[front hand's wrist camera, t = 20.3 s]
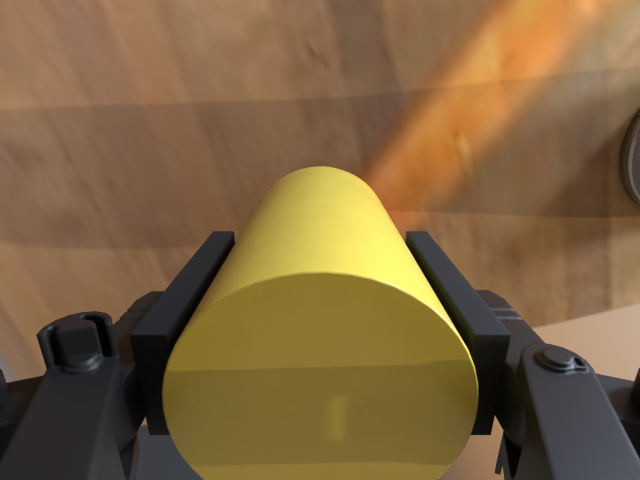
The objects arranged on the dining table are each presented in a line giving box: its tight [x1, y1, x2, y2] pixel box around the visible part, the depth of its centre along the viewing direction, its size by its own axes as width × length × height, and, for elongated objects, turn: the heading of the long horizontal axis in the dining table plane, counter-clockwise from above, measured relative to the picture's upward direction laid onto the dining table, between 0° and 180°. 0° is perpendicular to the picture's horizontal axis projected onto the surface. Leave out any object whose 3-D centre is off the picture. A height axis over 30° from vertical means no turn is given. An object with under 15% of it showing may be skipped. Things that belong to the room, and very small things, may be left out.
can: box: [162, 167, 479, 480], centre depth 13 cm, size 6×6×11 cm
